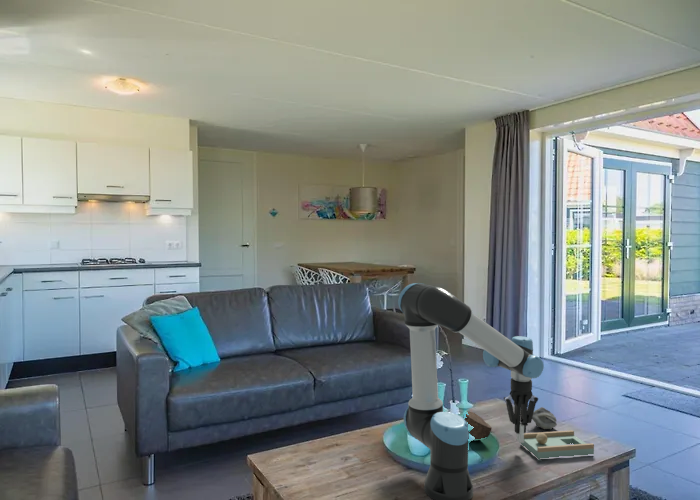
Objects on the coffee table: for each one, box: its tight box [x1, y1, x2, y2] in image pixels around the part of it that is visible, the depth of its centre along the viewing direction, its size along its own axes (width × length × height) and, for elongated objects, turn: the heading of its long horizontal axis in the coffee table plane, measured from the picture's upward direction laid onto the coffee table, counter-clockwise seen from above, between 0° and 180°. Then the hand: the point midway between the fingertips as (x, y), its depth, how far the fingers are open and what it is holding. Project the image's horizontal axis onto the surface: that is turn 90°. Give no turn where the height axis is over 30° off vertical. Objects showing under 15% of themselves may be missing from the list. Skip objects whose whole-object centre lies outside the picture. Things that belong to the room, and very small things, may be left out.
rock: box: [464, 411, 493, 439], centre depth 195 cm, size 12×10×10 cm
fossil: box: [532, 406, 558, 430], centre depth 209 cm, size 11×9×8 cm
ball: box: [536, 432, 548, 444], centre depth 186 cm, size 4×4×4 cm
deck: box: [521, 430, 595, 459], centre depth 187 cm, size 22×13×4 cm, turn 99°
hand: (520, 441), depth 184 cm, fingers closed
